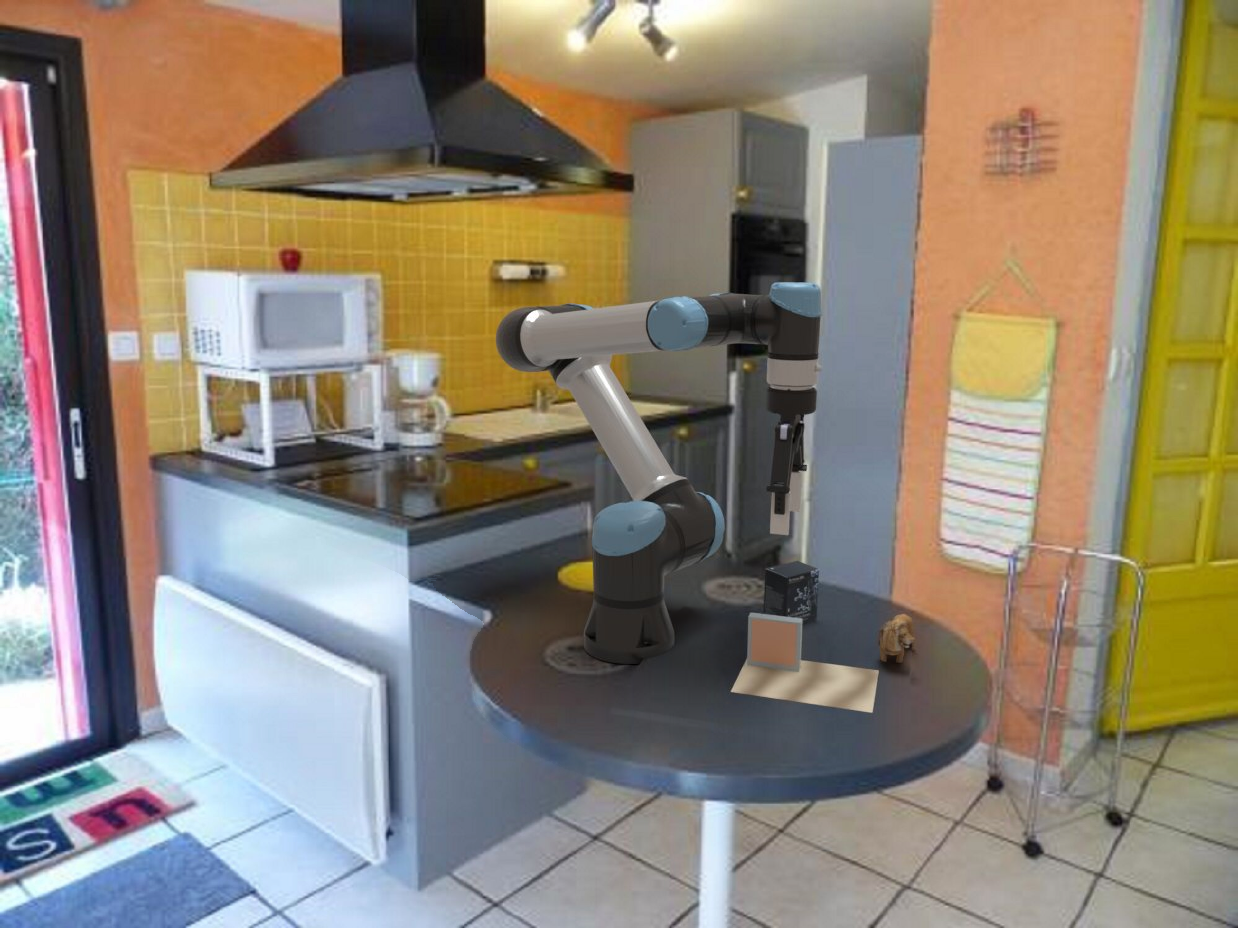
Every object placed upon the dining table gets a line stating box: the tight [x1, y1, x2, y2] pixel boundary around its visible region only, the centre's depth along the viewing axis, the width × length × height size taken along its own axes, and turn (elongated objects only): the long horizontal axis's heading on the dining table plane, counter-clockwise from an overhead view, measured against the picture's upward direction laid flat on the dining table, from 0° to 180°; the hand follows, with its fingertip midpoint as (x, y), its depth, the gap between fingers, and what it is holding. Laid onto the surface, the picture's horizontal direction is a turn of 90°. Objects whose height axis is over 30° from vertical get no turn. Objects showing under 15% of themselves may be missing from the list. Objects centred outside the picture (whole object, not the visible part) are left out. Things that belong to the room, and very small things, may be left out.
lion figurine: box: [877, 613, 916, 664], centre depth 144 cm, size 15×5×9 cm, turn 159°
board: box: [730, 658, 880, 714], centre depth 136 cm, size 20×14×1 cm
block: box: [746, 612, 803, 672], centre depth 140 cm, size 8×2×8 cm, turn 71°
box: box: [762, 560, 820, 625], centre depth 158 cm, size 8×6×11 cm
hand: (785, 521), depth 142 cm, fingers open, 12 cm apart
